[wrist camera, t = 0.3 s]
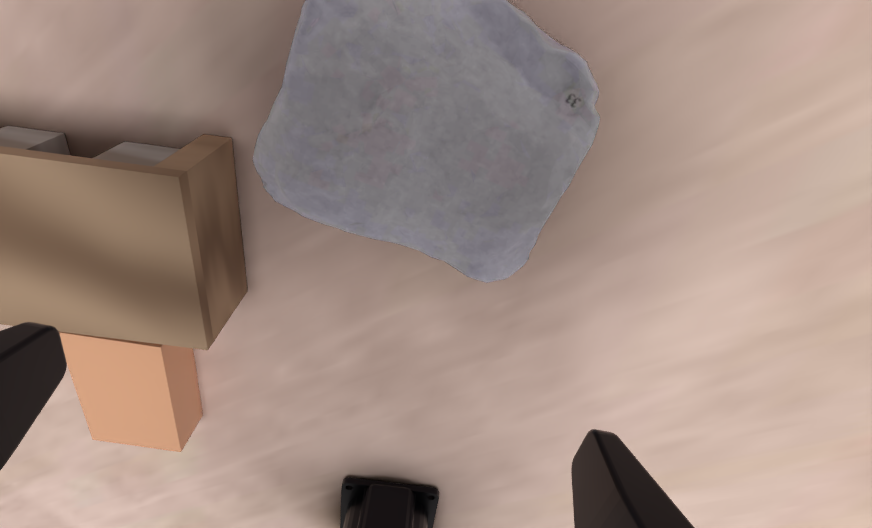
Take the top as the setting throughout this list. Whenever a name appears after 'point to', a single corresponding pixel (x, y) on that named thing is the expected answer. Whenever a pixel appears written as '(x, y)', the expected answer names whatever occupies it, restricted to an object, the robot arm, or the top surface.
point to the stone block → (429, 127)
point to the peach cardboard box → (135, 390)
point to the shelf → (120, 238)
